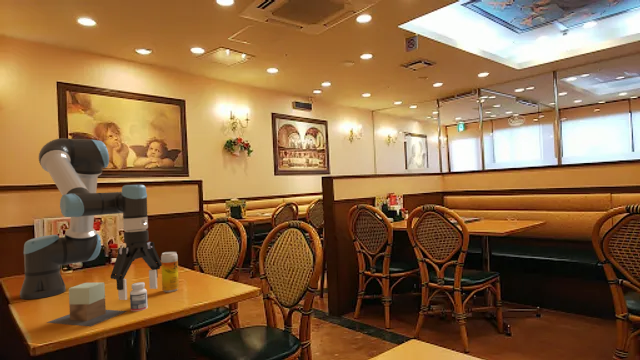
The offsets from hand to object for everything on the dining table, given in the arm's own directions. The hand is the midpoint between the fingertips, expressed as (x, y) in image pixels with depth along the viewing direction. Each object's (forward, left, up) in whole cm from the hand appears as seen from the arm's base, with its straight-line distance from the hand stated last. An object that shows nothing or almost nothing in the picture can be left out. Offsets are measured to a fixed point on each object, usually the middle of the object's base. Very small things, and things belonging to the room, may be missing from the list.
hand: (139, 293), depth 131 cm
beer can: (-6, +23, -6) cm, 25 cm away
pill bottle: (0, 0, -6) cm, 6 cm away
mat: (-11, -10, -5) cm, 16 cm away
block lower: (-11, -10, -5) cm, 16 cm away
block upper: (-11, -10, 0) cm, 15 cm away
